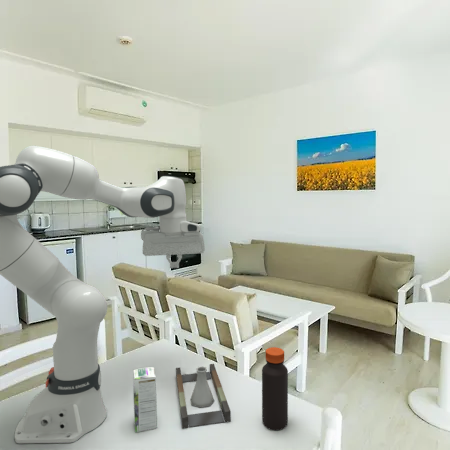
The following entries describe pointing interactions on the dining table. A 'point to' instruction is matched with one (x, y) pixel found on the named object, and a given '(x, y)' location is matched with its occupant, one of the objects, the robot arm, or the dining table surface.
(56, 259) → the robot arm
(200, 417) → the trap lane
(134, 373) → the syrup box
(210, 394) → the flask
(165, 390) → the dining table surface
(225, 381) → the dining table surface
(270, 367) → the bottle
